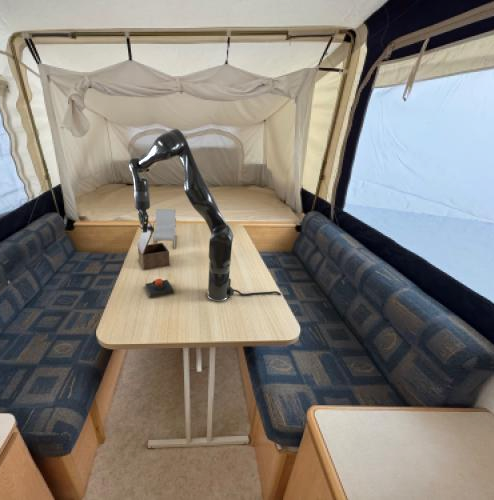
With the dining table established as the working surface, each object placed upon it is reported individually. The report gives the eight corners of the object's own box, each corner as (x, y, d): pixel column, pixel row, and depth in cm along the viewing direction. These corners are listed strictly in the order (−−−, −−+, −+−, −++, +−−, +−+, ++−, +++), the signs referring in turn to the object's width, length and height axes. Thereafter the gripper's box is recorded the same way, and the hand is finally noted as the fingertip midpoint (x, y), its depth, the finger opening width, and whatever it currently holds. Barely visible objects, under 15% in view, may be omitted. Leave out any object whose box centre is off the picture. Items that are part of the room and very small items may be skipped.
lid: (148, 221, 147) (140, 218, 145) (154, 228, 137) (145, 225, 134) (138, 245, 151) (130, 243, 148) (143, 254, 140) (134, 252, 138)
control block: (167, 283, 132) (167, 276, 131) (173, 293, 125) (173, 285, 123) (145, 287, 128) (145, 280, 127) (150, 297, 121) (149, 290, 119)
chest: (162, 256, 160) (162, 242, 156) (169, 265, 149) (169, 251, 145) (138, 259, 154) (137, 246, 151) (143, 270, 144) (142, 255, 140)
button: (161, 281, 127) (161, 278, 126) (163, 285, 124) (163, 281, 123) (154, 282, 126) (154, 279, 125) (156, 286, 123) (156, 283, 122)
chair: (176, 235, 190) (175, 208, 182) (174, 249, 167) (174, 220, 159) (157, 234, 190) (156, 208, 181) (153, 249, 167) (151, 220, 159)
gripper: (153, 202, 130) (154, 234, 137) (146, 195, 141) (147, 225, 149) (137, 203, 127) (139, 236, 134) (131, 196, 139) (134, 226, 146)
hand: (143, 230), depth 141 cm, fingers closed on lid, 5 cm apart
